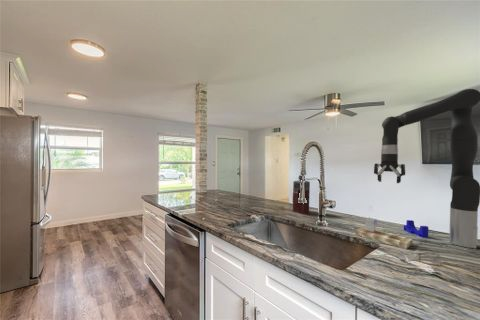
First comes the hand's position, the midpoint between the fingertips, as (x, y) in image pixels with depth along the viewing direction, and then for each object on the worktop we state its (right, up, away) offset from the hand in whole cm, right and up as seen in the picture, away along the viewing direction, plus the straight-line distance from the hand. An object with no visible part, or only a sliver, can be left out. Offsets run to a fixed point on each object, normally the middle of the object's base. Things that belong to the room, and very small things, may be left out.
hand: (388, 182), depth 118 cm
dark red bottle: (-37, -27, +43) cm, 63 cm away
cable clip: (+15, -29, 0) cm, 32 cm away
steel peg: (-14, -28, -6) cm, 32 cm away
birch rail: (-10, -28, -10) cm, 31 cm away
